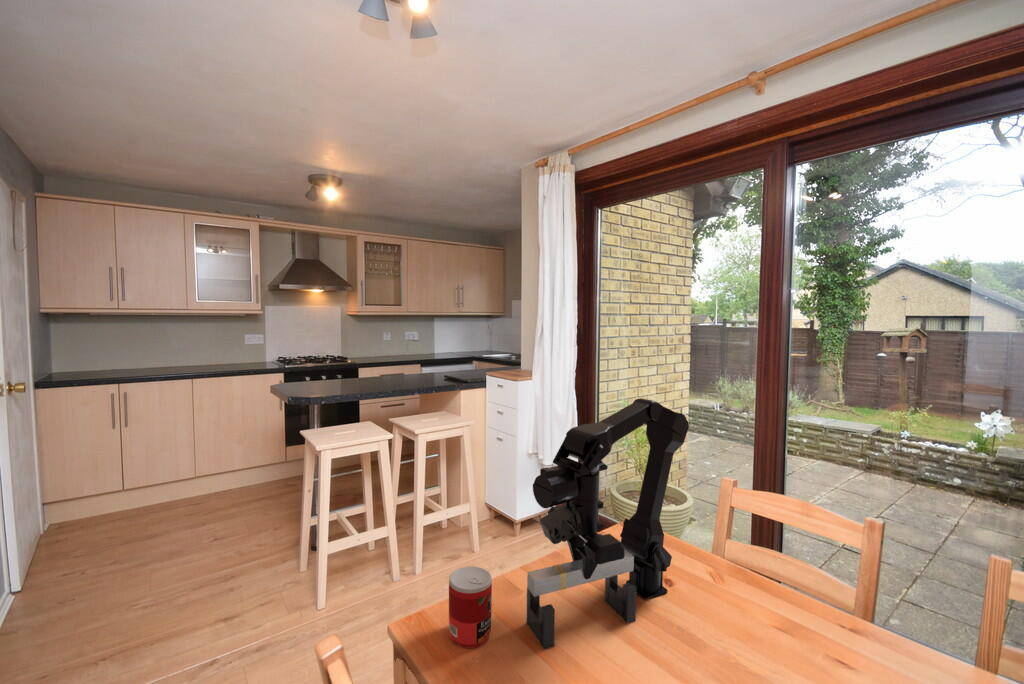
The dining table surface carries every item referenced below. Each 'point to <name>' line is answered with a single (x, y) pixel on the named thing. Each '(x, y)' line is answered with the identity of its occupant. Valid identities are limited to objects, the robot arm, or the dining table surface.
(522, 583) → the dining table surface
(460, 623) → the canned food
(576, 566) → the grey metal bar
